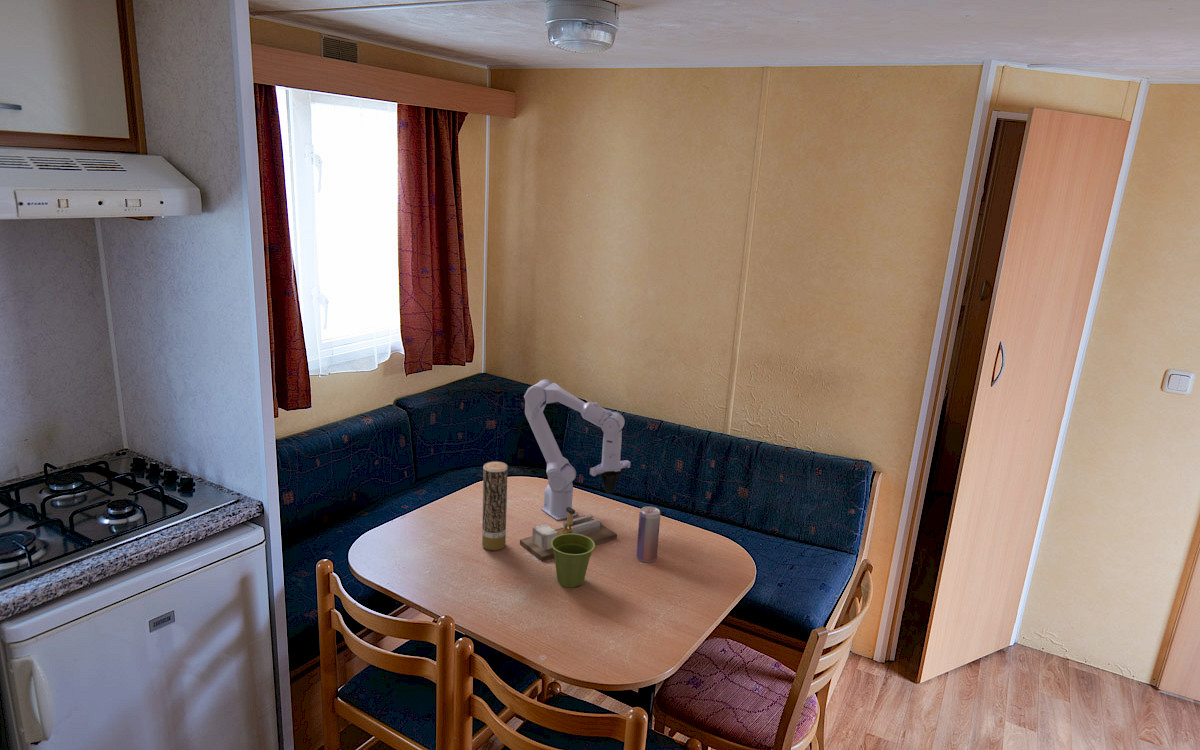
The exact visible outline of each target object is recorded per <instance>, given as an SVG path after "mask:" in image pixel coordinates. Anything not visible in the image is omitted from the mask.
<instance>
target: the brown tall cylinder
mask: <svg viewBox="0 0 1200 750" xmlns="http://www.w3.org/2000/svg"><path fill="white" fill-rule="evenodd" d="M482 468H483V470H482V472H483V473H482V474H483V475H482V477H483V478H482V481H483V482H482V524H481V525H482V529H481V530H482V531H481V532H482V536H481V537H482V538H481V539H482V541H481V542H482V543H481V544H482V545H481V546H482V547H483V548H484V549H485V550H487V551H499V550H501V549H504V548H505V546H506V541H507V540H506V539H507V537H506V536H507V509H508V507H507V506H508V505H507V504H508V502H507V500H508V471H509V470H508V464H507V463H505V462H502V461H488V462H486V463H484V464H483V467H482Z"/></svg>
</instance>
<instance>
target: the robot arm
mask: <svg viewBox="0 0 1200 750" xmlns="http://www.w3.org/2000/svg"><path fill="white" fill-rule="evenodd" d="M523 398H524V415H525V417H526V420H527V422H528V423H529V426H530V428H531V431H532V433H533V435H534V438H535V440H536V442H537V444H538V446H539V449H540V451H541V454H542V455H543V457H544V459H545V462H546V475H547V482H548V483H547V486H546V487H545V489H544V495H543V497H544V500H543V507H541V510H542V511H543V512H545V514H547V515H549V516H550V517H551V518H553V519H554V520H556V521H561V520H564V519H567V513H568V512H567V511H566V508H567V507H570V508H572V509H573V496H574V495H573V493H574V485H573V481H574V480H575V479H576V477H577V471H576V469H575V467H574V466H572V464H571V463H570V462H569V460H568V458H566V457H564V456H563V455H562V452H561V450H560V447H559V445H558V443H557V441H556V439H555V436H554V434H553V432H552V429H551V428H550V425H549V423H548V420H547V419H546V416H545V414H544V410H545V408H546V406H547V404H553V403H560V404H562V405H564V406H566V407H568V408H569V409H572V410H574V411H576V412H578V413H580V415H581V417H582V419H584V420H586V421H588V422H590V423H591V424H593V425H595V426H596V427H598V428H601V431H602V432H603V438H602V451H601V462H600V464H597V465H595V466H594V467H589V475H591V476H592V477H596V476H597V475H600V477H601V480H602V482H603V486H604V491H605V493H607V494H608V495H610V494H613V493H614V490H615V486H616V484H617V482H618V480H619V479H620V477H621V476H622V472H621V471H622V470H621V469H626V468H627V469H629V468H631V461H629V460H628V459H625V460H621V452H622V440H623V439H622V435H623V434H622V433H623V430H622V429H623V428H624V426H625V423H626V421H625V417H624V416H623V415H622V414H621V413H620V412H619V411H612V410H610V409H606V408H605V407H602V406H600V405H599V403H598V402H596V401H594V402H593V401H588V402H585V401H583V400H582V399H580V398H579V397H577V396H576V395H573V394H572V393H570V392H568V391H567V390H566V389H564V388H562V387H561V386H559V384H558V383H555V382H552V381H551V380H550V379H540V380H539V381H538V382H537V383H535V384H534V385H531V386H529V387H528V388H527V390H526V391H525V393H524V395H523ZM577 515H578V513H577V512H576V511H575V514H573V517H575V516H577Z"/></svg>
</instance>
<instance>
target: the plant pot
mask: <svg viewBox="0 0 1200 750" xmlns="http://www.w3.org/2000/svg"><path fill="white" fill-rule="evenodd" d="M551 546H552V548H553V552H554V555H555V558H554V563H555V572H556V573H555V574H556V580H557V583H559V584H560V585H561V586H563V587H565V588H576V587H577V586H582V585H583V584H584V582H585V578H586V574H587V571H588V570H587V569H588V567H589V562H590V559H591V556H592V552H593V551H594V550H595V548H596V545H595V543H594V541H593V540H592V539H591V538H589V537H587V536H584V535H581V534H574V533H568V534H561V535H558V536H556V537H554V538H553V539H552V541H551Z"/></svg>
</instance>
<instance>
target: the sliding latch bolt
mask: <svg viewBox="0 0 1200 750" xmlns="http://www.w3.org/2000/svg"><path fill="white" fill-rule="evenodd" d="M566 511H567V512H568V513H567V518H566V521H567V528H564V529H561V530H557V531H556V532H558V535H561V534H568V533H571V526H573V519H574V516H573V514H575V512H576V510H575V509H574V508H573V507H572V508H570V507H567V508H566Z"/></svg>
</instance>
